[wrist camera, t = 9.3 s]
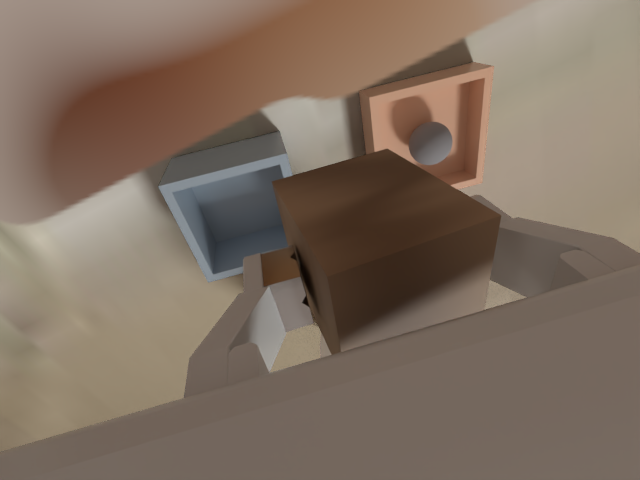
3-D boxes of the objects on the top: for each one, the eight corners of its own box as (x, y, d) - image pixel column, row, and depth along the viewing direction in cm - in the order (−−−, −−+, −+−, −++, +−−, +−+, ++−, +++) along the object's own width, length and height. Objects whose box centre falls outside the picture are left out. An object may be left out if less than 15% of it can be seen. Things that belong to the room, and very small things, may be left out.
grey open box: (279, 130, 25) (286, 153, 21) (302, 221, 30) (312, 253, 26) (171, 158, 25) (157, 186, 21) (212, 245, 30) (208, 282, 26)
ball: (440, 112, 26) (462, 123, 24) (439, 151, 28) (459, 165, 26) (401, 122, 26) (419, 134, 24) (403, 161, 28) (419, 176, 25)
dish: (473, 62, 25) (493, 66, 23) (466, 171, 30) (482, 182, 28) (358, 90, 25) (369, 97, 23) (370, 197, 30) (380, 210, 28)
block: (387, 148, 11) (501, 215, 7) (391, 244, 13) (479, 336, 9) (271, 181, 10) (327, 276, 6) (296, 277, 13) (348, 392, 9)
